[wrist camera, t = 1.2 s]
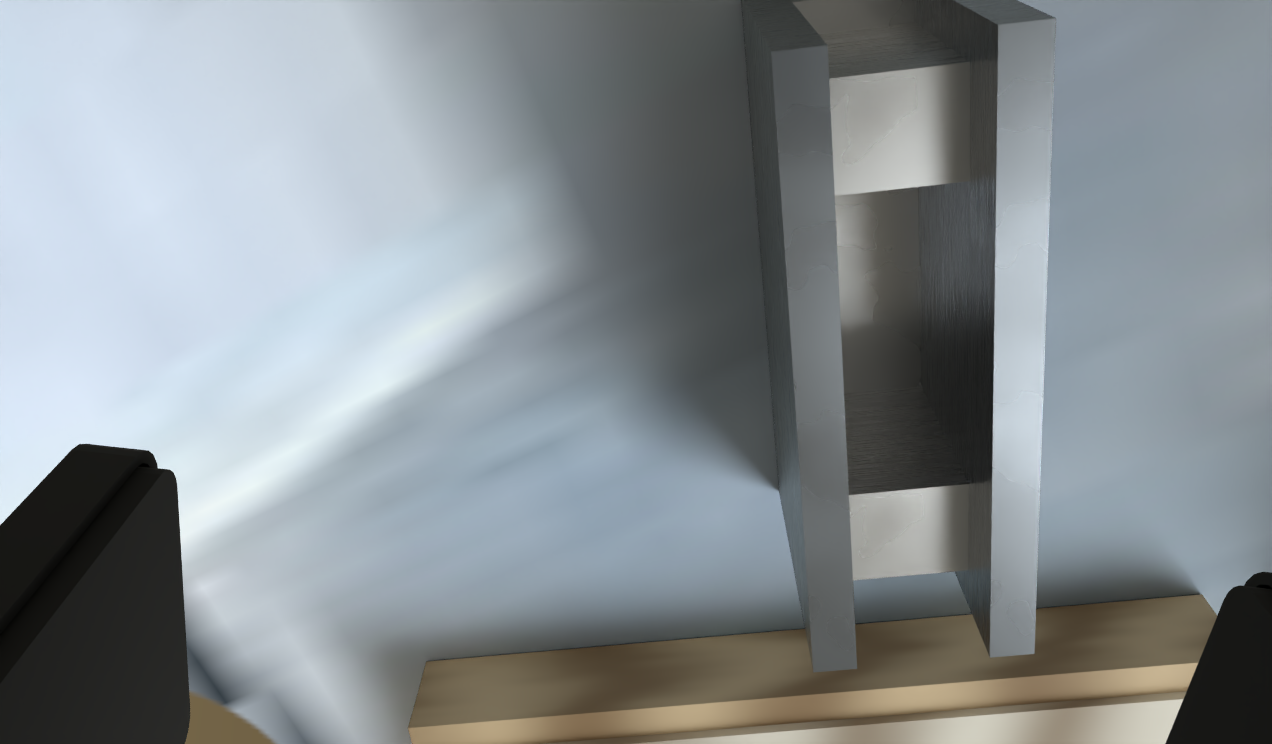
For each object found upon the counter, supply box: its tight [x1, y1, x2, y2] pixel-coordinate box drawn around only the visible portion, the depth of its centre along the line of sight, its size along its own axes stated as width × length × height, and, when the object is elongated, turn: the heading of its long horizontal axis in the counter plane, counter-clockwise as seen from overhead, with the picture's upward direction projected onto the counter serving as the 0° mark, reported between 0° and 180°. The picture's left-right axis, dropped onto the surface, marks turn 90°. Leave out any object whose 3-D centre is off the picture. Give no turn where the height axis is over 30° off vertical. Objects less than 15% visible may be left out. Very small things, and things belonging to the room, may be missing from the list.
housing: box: [741, 0, 1056, 673], centre depth 27 cm, size 5×14×8 cm, turn 7°
